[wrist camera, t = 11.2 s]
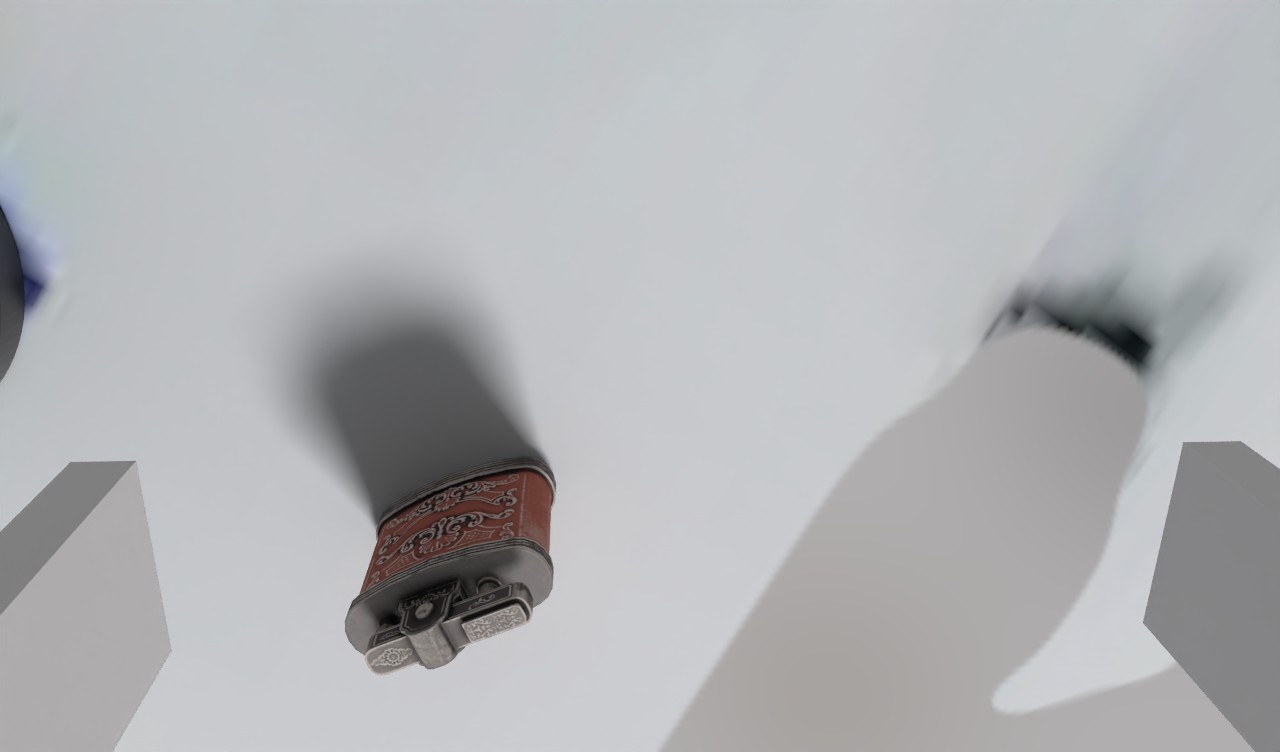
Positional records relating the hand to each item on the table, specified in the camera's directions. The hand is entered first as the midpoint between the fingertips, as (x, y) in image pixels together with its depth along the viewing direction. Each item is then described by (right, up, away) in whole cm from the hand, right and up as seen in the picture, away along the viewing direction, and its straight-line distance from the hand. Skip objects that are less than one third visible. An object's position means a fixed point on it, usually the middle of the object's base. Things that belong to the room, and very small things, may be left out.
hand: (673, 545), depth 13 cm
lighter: (-8, -3, +32) cm, 33 cm away
